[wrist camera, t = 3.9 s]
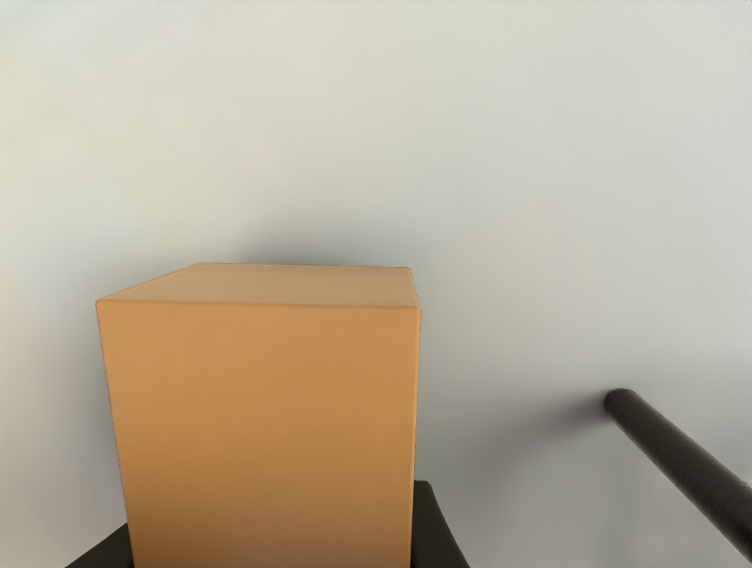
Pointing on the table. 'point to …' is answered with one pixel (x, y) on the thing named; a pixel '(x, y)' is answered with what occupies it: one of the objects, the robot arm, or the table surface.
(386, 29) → the table surface
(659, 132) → the table surface
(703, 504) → the rack
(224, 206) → the table surface
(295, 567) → the orange-brown rectangular block
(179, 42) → the table surface
